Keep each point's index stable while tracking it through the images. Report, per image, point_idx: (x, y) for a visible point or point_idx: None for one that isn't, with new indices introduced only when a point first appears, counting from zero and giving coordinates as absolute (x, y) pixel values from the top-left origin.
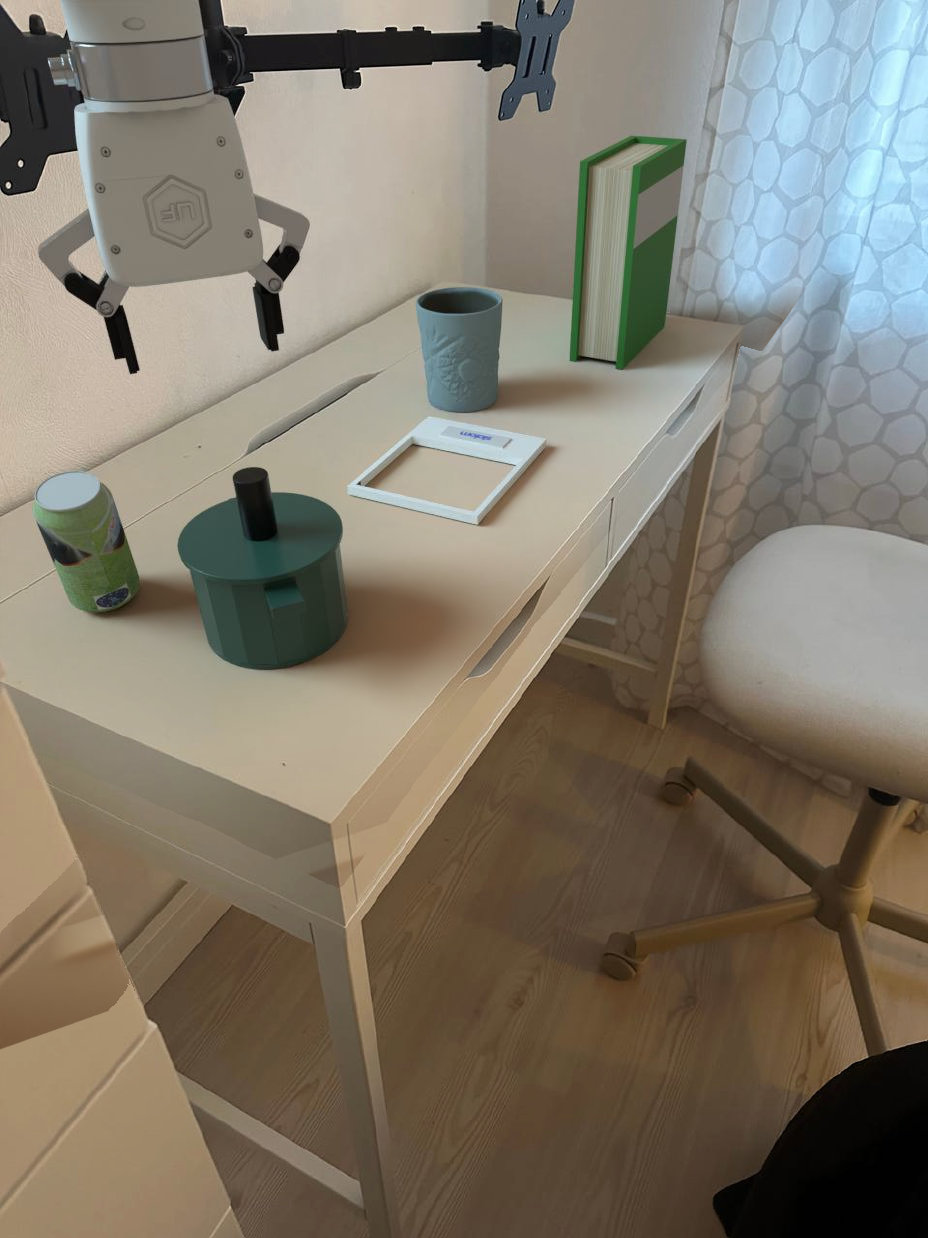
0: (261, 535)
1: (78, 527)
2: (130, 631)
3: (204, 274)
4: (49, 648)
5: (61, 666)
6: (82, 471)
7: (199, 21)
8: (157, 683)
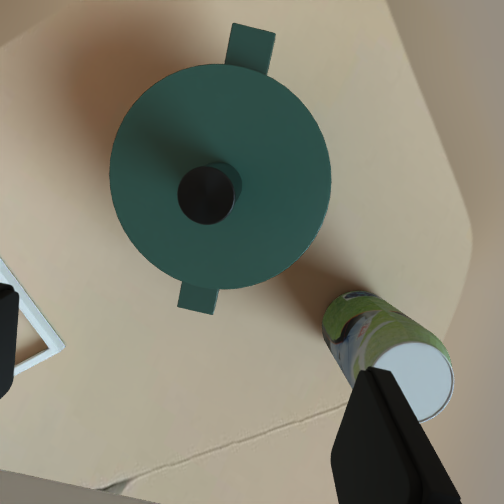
0: (225, 163)
1: (413, 325)
2: (359, 254)
3: (8, 472)
4: (432, 275)
5: (434, 241)
6: None
7: None
8: (372, 158)
